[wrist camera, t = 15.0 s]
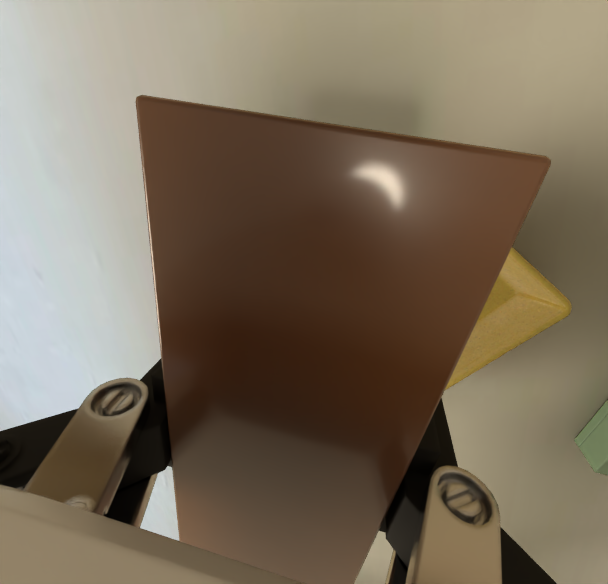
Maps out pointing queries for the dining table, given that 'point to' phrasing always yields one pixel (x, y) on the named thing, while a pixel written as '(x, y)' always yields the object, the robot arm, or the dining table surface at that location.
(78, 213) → the dining table surface
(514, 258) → the yellow flat tray
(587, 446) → the tray
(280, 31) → the dining table surface
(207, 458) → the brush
